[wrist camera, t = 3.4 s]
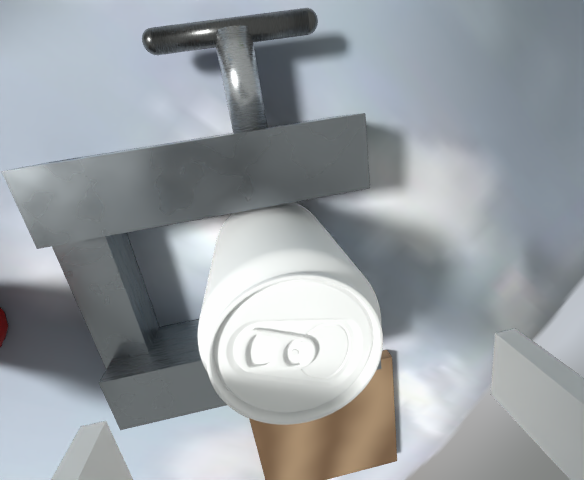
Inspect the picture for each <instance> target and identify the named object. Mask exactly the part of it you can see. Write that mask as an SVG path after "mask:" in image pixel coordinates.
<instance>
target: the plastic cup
mask: <svg viewBox="0 0 584 480" xmlns="http://www.w3.org/2000/svg"><path fill="white" fill-rule="evenodd" d="M7 329H8V323H7V319H6V316H5V312H4V311H3V310H2V309H1V308H0V347H1V346H2V343H3V341H4V339H5V337H6V333H7Z"/></svg>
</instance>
